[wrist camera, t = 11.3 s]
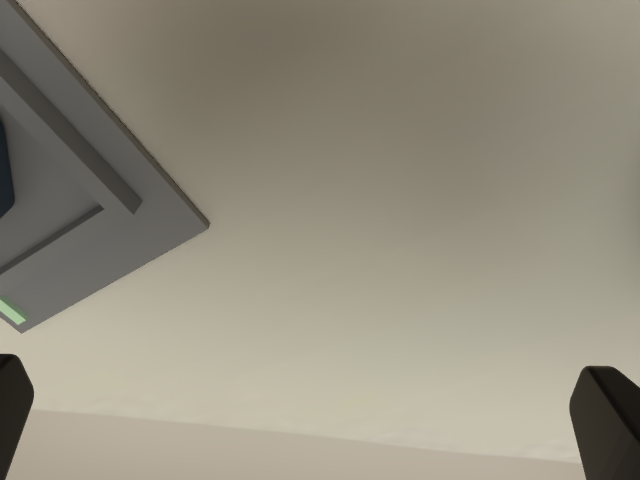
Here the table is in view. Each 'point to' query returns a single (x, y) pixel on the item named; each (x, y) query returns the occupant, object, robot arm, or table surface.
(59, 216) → the dock
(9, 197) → the vaping device
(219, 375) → the table surface
